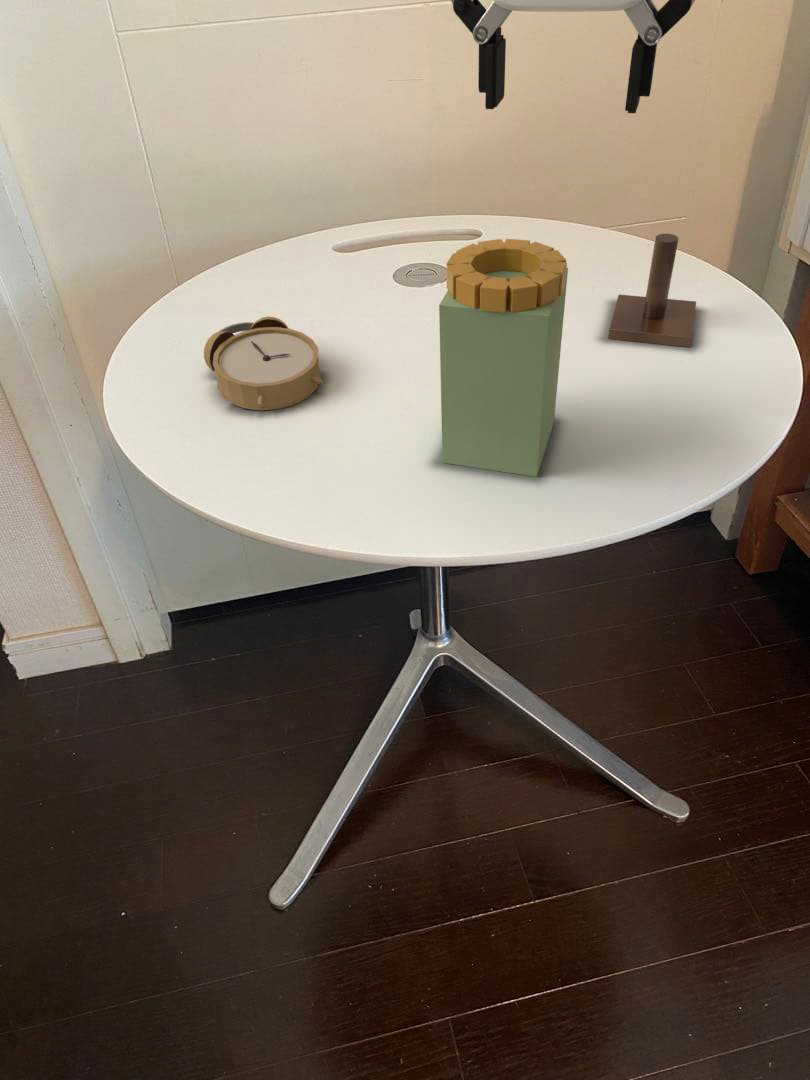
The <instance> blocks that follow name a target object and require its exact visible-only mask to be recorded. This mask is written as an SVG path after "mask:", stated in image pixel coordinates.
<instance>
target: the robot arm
mask: <svg viewBox="0 0 810 1080" xmlns="http://www.w3.org/2000/svg"><path fill="white" fill-rule="evenodd" d="M450 2H451V3H452V9H453V13H454V14H455V15H456V16H457V17H458V19H459V20H460V22H462V23H463V24H464V26H465V27H466V28H467V29H468V31H469V32H470V33H471V34H472V39H473V40H474V42H475V43H476V44H478V86H477V87H478V93H481V94H482V93H483V94H485V101H484V102H485V105H484V108H485V110H494V109H495V108H497V107H498V106H499V104H500V103H502V101H503V99H504V98H505V87H506V86H505V84H506V82H505V81H506V51H507V50H506V48H507V40H506V38H505V37H504V34H502V26H503V25H504V23H505V21H506V20H507V19H508V18H509V16H510V15H511V13H512V12H540V13H541V12H548V13H549V12H554V13H557V12H562V13H564V12H567V13H568V12H619V11H624V13H625V15H626V16H627V18H628V19H629V21H630V22H631V24H632V25H633V27H634V29H635V30H636V32H637V38H636V39H635V41H634V43H633V46H632V48H631V57H630V66H629V72H628V81H627V83H628V84H627V90H626V99H625V108H624V111H625V112H627V114H636V113H637V110H638V108H639V104H640V99H641V97H645V98H647V97H650V95H651V91H652V84H653V77H654V71H655V64H656V63H655V61H656V56H657V47H658V43H659V42H660V41H661V39H662V38H663V37H664V36H665V35H666V34H667V33H668V32H669V31H670V30H671V29H673V28H674V26H675V25H676V24H678V23H679V21H681V19H683V18H684V17H685V16H686V15H687V14H689V13H688V12H689V11H690V10H691V8H692V7H693V5H694V3H695V2H696V0H668V1H667V2H666V3H664V5H663V6H662V7H661V8H660V9H658V7H657V6H656V4H655V3H654V1H653V0H492V2H491V4H490V5H489V7H488V8H487V9H486V8H485V6H484V5H483V4H482V2H480V0H450Z"/></svg>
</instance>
